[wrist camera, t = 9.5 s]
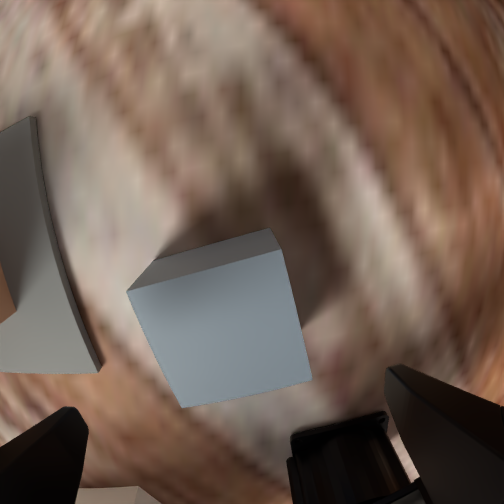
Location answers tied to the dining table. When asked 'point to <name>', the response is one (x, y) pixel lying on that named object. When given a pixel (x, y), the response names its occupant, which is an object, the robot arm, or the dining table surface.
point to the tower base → (34, 270)
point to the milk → (114, 496)
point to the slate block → (222, 320)
